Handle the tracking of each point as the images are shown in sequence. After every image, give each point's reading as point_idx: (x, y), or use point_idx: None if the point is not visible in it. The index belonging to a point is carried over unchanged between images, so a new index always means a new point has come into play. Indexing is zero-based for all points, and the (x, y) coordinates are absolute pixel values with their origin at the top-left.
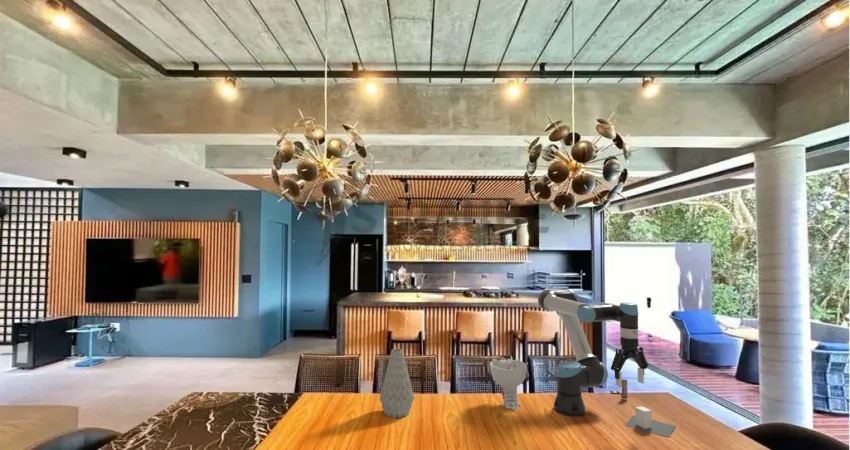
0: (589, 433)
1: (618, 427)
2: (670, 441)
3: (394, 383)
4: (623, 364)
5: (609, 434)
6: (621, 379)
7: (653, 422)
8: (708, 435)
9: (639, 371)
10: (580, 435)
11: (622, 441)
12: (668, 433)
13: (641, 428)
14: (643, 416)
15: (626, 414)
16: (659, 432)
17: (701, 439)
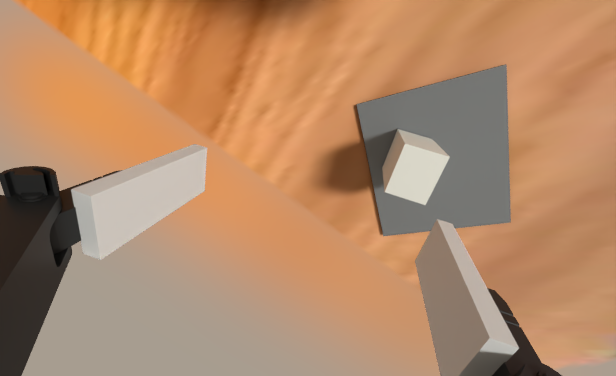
0: (201, 63)
1: (328, 95)
2: (363, 243)
3: None
4: (24, 355)
5: (252, 109)
6: (163, 216)
7: (480, 159)
8: (506, 301)
9: (456, 317)
10: (165, 55)
11: (247, 159)
12: (412, 227)
13: (380, 156)
14: (385, 177)
15: (504, 29)
16: (396, 207)
17: None
